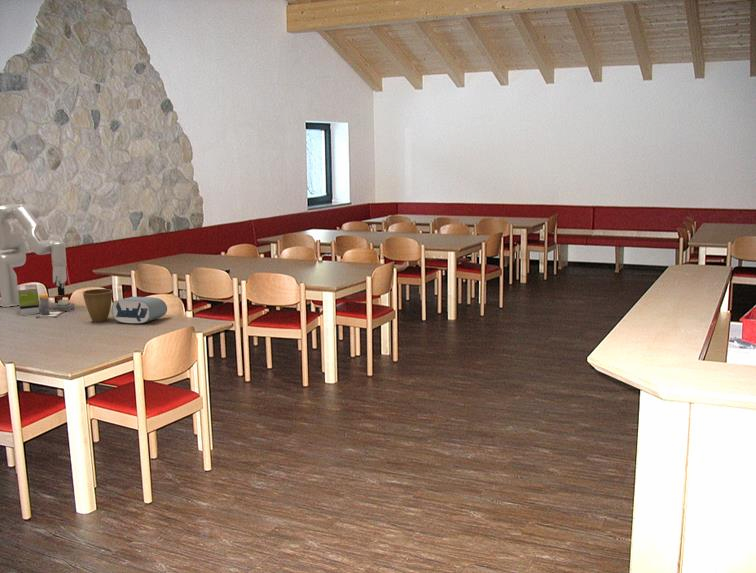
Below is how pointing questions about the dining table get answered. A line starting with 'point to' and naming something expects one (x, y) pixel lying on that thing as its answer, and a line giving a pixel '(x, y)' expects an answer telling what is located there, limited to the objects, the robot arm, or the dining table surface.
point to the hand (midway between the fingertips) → (61, 295)
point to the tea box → (28, 299)
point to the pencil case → (138, 309)
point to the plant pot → (98, 303)
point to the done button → (63, 302)
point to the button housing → (64, 307)
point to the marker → (44, 304)
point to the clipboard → (52, 313)
